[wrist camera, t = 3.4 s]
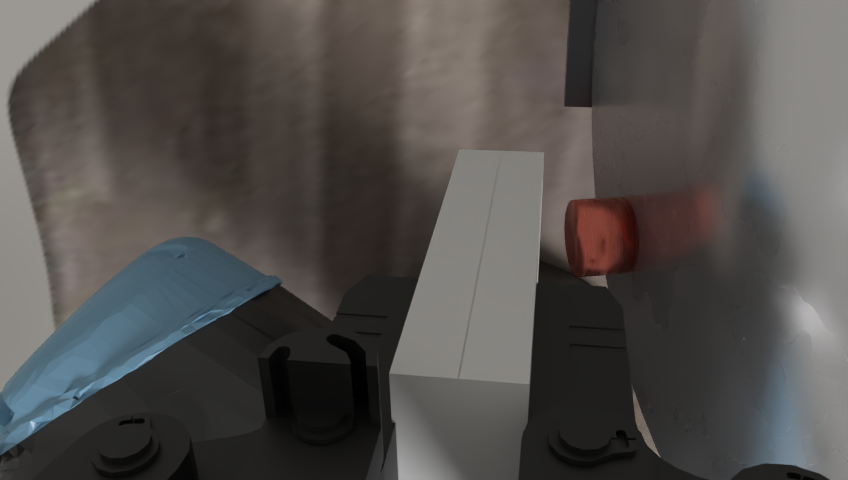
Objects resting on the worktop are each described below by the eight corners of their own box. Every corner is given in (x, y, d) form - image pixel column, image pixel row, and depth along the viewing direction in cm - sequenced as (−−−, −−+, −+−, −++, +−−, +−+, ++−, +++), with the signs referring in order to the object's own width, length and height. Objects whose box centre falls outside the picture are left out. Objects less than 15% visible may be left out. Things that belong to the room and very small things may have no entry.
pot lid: (605, 293, 32) (535, 299, 32) (663, -325, 22) (564, -324, 22) (956, 890, 14) (802, 912, 14) (1900, -830, 5) (1486, -851, 5)
